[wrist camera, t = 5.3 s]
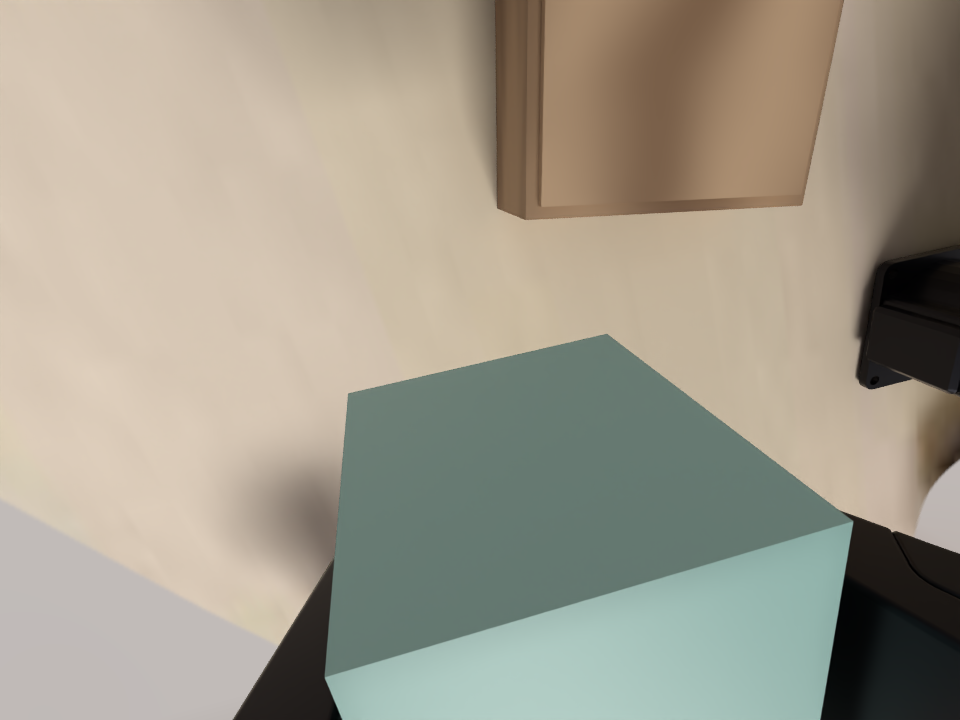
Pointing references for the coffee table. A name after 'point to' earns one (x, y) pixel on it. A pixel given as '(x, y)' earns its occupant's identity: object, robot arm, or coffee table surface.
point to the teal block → (573, 552)
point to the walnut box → (658, 103)
